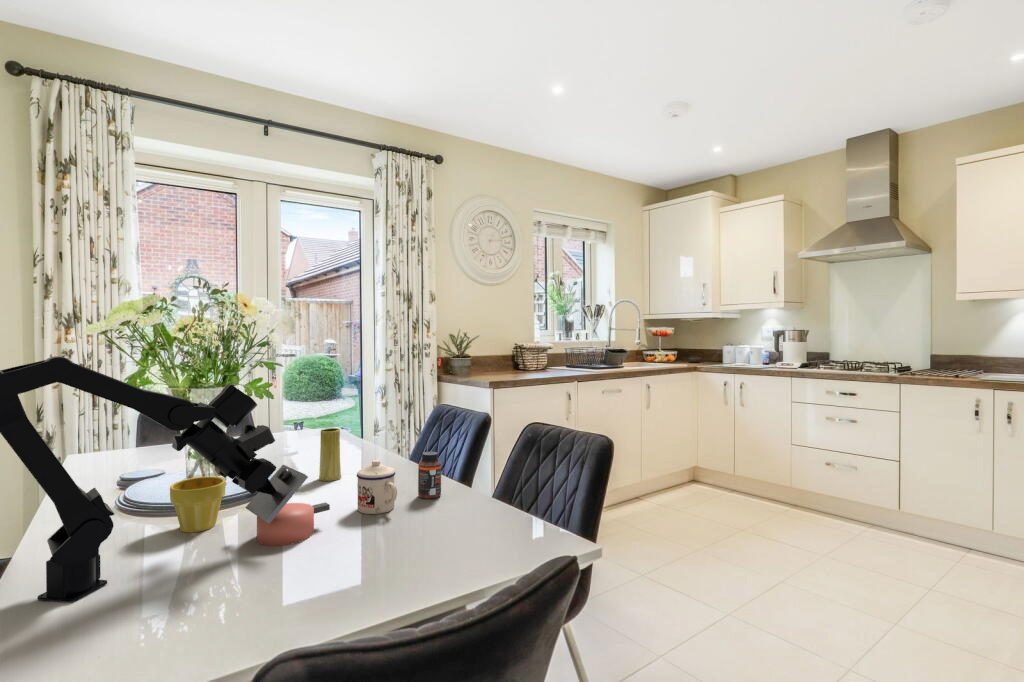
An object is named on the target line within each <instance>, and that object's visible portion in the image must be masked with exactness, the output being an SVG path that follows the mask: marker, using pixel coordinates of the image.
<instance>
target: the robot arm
mask: <svg viewBox="0 0 1024 682" xmlns="http://www.w3.org/2000/svg"><path fill="white" fill-rule="evenodd" d="M56 383H59V384H63V385H65V386H69V387H72V388H74V389H77V390H80V391H83V392H85V393H87V394H91V395H93V396H96V397H99V398H101V399H105V400H107V401H110V402H113V403H115V404H119V405H121V406H124V407H127V408H130V409H133V410H134V411H136V412H138V413H140V414H141V415H143V416H145V417H146V418H149V420H152V421H154V422H155V423H157V424H159V425H161V426H162V427H165V428H166V429H169V430H171V431H175V432H181V431H182V432H181V433H179V434H177V433H176V434H172V436H171V437H172V444H171V448H173V449H174V450H175V451H177V452H181V451H182V450H183V449H184V448H185V447H186V446H188V447H189V448H191V449H192V450H193V451H195V452H196V453H197V454H198V455H200V456H201V457H202V458H203V459H204V460H205V461H207V463H210V464H211V465H212V466H214V472H216V473H217V474H219V475H220V477H222V478H224V479H227V477H228V478H230V479H231V483H233V484H235V485H236V486H238V487H240V488H241V489H244V490H245V491H246V492H248V493H249V494H251V495H253V494H255V493H256V492H257V493H259V492H261V493H265V494H270V495H273V494H274V493H275V492H276V490H275V488H274V487H273V485H272V484H271V482H270V481H269V480H270V479H269V478H271V476H272V474H274V473H275V471H277V466H276V465H275V464H274V463H273V462H272V461H270V460H268V459H266V458H264V457H263V458H256V456H258V454H257V453H256V452H258V451H259V450H261V449H262V448H264V447H266V446H268V445H271V444H274V442H276V439H275V437H274V435H273V433H272V430H271V428H270V426H267V425H264V424H262V425H256V426H254V425H252V424H251V423H246V424H245V425H244V426H242V427H241V434H239V437H234V436H232V435H230V434H229V433H227V432H226V431H225V430H223V429H222V428H221V427H220V426H219V425H217V423H219V424H220V425H221V426H223V427H224V428H226V429H228V428H229V427H232V428H233V427H235V428H236V427H237V426H238V425H240V424H241V422H242V421H244V419H245V418H247V416H248V415H250V414H251V413H252V412H253V411H254V409H256V407H257V406H258V404H257V402H256V401H255V399H253V398H252V397H251V396H250V395H248V394H246V393H244V391H242V390H241V389H238V388H237V387H236V386H234V385H233V384H231V383H227V384H226V385H225V386H224V387H223V388H222V390H221V392H219V394H217V395H216V396H215V397H213V399H211V401H210V402H209V403H208V404H207V403H203V402H199V403H198V402H192V401H191V400H189V399H187V398H184V397H180V396H176V395H171V394H166V393H163V392H159V391H158V392H157V391H153V390H147V389H143V388H141V387H140V388H139V387H137V386H135V385H132V384H130V383H127V382H125V381H122V380H119V379H117V378H114V377H111V376H109V375H106V374H104V373H101V372H98V371H96V370H93V369H91V368H88V367H87V366H84V365H80V364H78V363H75V362H74V361H72V360H71V359H70V358H67V357H63V356H60V355H58V356H50V357H49V358H47V359H44V360H39V361H35V362H30V363H25V364H23V365H21V364H20V365H17V366H12V367H10V368H5V369H1V370H0V434H1V435H2V437H3V438H4V440H5V441H6V443H7V444H8V445H9V446H10V447H11V449H12V450H13V452H14V454H16V456H17V457H18V459H19V460H20V461H21V462H22V463H23V465H24V466H25V467H26V469H27V470H28V472H29V473H30V474H31V475H32V476H33V478H34V479H35V481H36V482H37V483H38V485H39V486H40V487H41V489H42V490H43V491H44V492H45V494H46V495H47V496H48V497H49V499H50V500H51V501H52V503H53V505H54V507H55V509H56V511H57V515H58V516H59V518H60V521H61V523H62V525H61V526H60V527H59V528H58V529H57V530H56V531H55V532H54V533H53V534H51V536H50V537H49V538H47V541H46V542H47V544H48V548H49V550H50V554H51V556H50V558H49V559H47V560H46V561H45V569H46V570H45V571H46V572H45V574H46V576H45V577H46V578H45V579H46V580H45V581H46V582H45V583H46V584H45V586H46V589H45V590H46V592H43V593H40V594H38V596H37V600H39V601H51V602H52V601H53V602H64V603H65V602H66V603H72V602H75V601H77V600H79V599H81V598H83V597H85V596H86V595H88V594H91V593H93V592H94V591H96V590H98V589H99V588H102V587H103V586H106V585H107V584H108V580H107V579H101V554H100V553H99V552H100V550H99V549H100V546H101V544H102V543H103V542H105V541H106V540H107V539H108V538H109V536H110V535H111V533H112V531H113V528H114V522H113V519H112V517H113V516H115V512H114V511H113V510H112V508H111V507H110V505H108V503H106V502H104V500H103V497H102V495H101V494H100V492H99V491H98V490H97V488H96V487H93V488H92V489H90V490H89V491H85V490H83V489H82V488H81V487H80V486H79V485H78V484H77V483H76V481H74V479H73V478H72V476H71V475H70V474H69V472H68V471H67V470H66V468H65V467H64V466H63V464H62V462H60V460H59V459H58V458H57V456H56V454H54V451H52V449H51V448H50V447H49V445H48V444H47V443H46V441H45V440H44V438H43V436H41V434H40V433H39V431H38V430H37V429H36V428H35V426H34V425H33V423H32V422H31V420H30V419H29V418H28V416H27V413H26V411H25V408H24V406H23V403H22V402H21V399H20V397H19V395H20V394H23V393H28V392H30V391H35V390H36V389H40V388H43V387H46V386H49V385H52V384H56ZM213 420H215V421H216V422H217V423H215V422H214V421H213ZM111 516H112V517H111Z"/></svg>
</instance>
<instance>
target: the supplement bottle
mask: <svg viewBox="0 0 1024 682" xmlns="http://www.w3.org/2000/svg"><path fill="white" fill-rule="evenodd" d="M421 455H422V456H421V458H422V460H420V461H419V462H418V471H417V472H418V473H417V476H418V478H417V481H418V483H417V493H418V494H417V495H418V497H419V498H421V499H425V500H427V499H428V500H430V499H437V498H439V497H440V496H441V495H442V461H440V460H439V458H438V457H439V456H438V455H439V453H438V452H436V451H425V452H422V453H421Z"/></svg>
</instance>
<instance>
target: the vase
mask: <svg viewBox="0 0 1024 682" xmlns="http://www.w3.org/2000/svg"><path fill="white" fill-rule="evenodd" d="M340 433H341V431H340V428H337V427H336V428H335V427H331V428H330V427H329V428H328V427H327V428H323V429H320V446H319V447H320V453H319V475H318V476H319V477H318V479H319V480H320V482H335V481H338V480H340V479H341V478H342V472H341V471H342V470H341V442H340V440H341V438H340Z"/></svg>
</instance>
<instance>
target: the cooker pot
mask: <svg viewBox="0 0 1024 682" xmlns="http://www.w3.org/2000/svg"><path fill="white" fill-rule="evenodd" d="M330 506H331V505H330V503H327V502H322V503H317V504H313V505H311V504H308V503H305V502H304V503H303V502H290V503H289V502H287V503H286V504H285V506H284V507H283V508H282V509H281V510H280V512H279V513H278V514H277V515H276V516H275V518H274V519H273V520H272V521H271V522H270V524H268V523H267V522H265V521H264V520H262V519H261V518H259V517H258V516H256V541H257V543H259V544H261V545H264V546H270V547H272V546H273V547H275V546H277V547H279V546H287V545H292V543H294V544H297V543H300V542H299V541H301V542H303V541H305V539H306V540H308V539H309V538H311V537H312V536H313V535H314V533H315V532H314V531H315V518H314V517H315V514H318V513H323V512H326V511H330ZM310 536H311V537H310ZM307 538H308V539H307ZM302 540H303V541H302ZM296 542H297V543H296Z"/></svg>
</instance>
